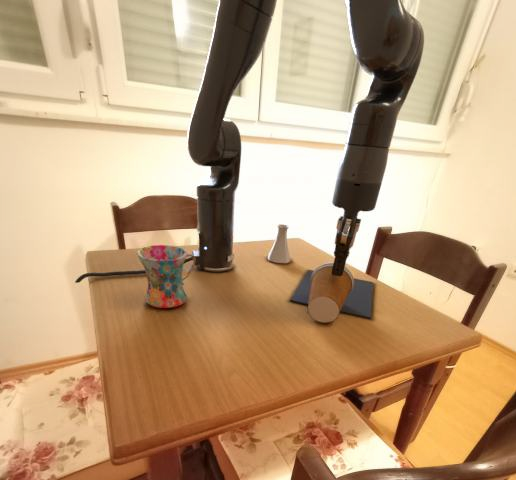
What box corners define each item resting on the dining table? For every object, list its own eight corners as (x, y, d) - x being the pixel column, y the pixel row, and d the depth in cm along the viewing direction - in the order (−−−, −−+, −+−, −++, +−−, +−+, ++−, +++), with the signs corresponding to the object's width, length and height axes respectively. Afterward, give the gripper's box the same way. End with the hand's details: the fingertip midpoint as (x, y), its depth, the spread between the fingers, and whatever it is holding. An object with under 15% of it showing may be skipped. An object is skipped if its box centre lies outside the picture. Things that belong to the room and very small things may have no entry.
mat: (370, 319, 67) (370, 317, 67) (290, 301, 71) (290, 299, 71) (372, 283, 85) (373, 282, 85) (308, 270, 89) (308, 269, 89)
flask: (292, 258, 97) (297, 224, 92) (288, 265, 91) (293, 230, 86) (269, 254, 98) (273, 221, 93) (264, 261, 92) (268, 226, 87)
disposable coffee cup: (349, 329, 63) (355, 297, 71) (346, 288, 57) (353, 258, 65) (303, 328, 67) (314, 297, 75) (296, 290, 61) (309, 261, 69)
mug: (157, 316, 61) (151, 263, 55) (135, 298, 66) (128, 248, 60) (208, 301, 68) (207, 253, 62) (185, 286, 73) (182, 240, 67)
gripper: (341, 172, 59) (323, 261, 69) (332, 178, 48) (312, 282, 58) (382, 177, 57) (357, 268, 67) (382, 184, 47) (353, 290, 56)
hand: (336, 274), depth 63 cm, fingers closed
